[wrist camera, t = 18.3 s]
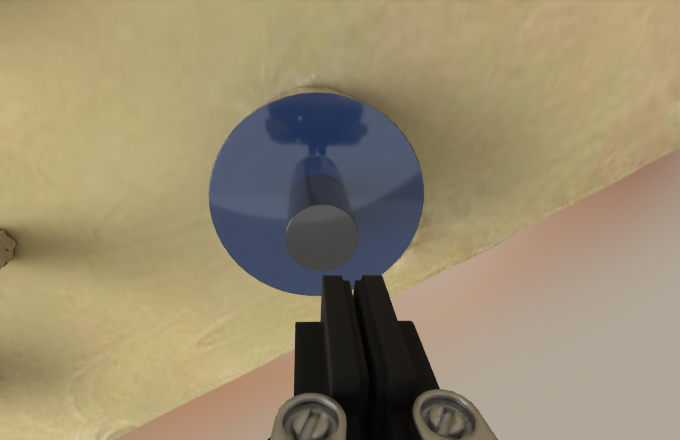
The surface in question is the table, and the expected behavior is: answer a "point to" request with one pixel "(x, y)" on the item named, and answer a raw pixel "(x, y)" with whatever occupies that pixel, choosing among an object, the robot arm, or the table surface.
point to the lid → (315, 192)
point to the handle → (6, 249)
